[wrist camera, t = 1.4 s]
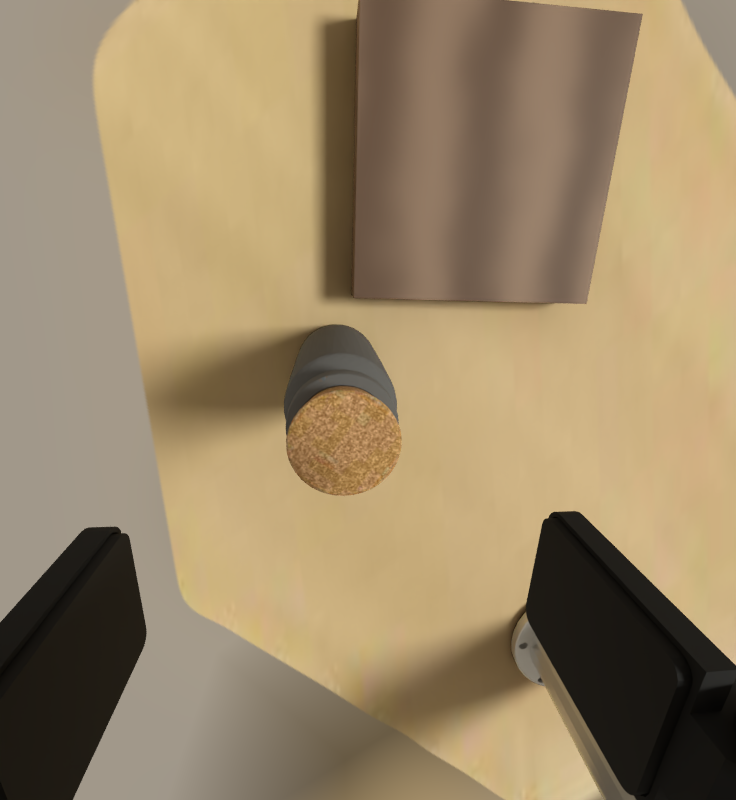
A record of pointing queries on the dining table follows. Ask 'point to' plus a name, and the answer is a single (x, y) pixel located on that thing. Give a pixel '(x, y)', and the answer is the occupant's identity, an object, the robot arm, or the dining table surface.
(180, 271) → the dining table surface
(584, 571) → the robot arm
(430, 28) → the base
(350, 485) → the bottle
